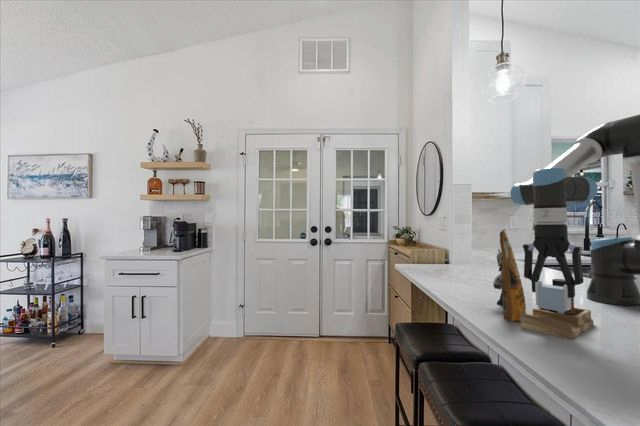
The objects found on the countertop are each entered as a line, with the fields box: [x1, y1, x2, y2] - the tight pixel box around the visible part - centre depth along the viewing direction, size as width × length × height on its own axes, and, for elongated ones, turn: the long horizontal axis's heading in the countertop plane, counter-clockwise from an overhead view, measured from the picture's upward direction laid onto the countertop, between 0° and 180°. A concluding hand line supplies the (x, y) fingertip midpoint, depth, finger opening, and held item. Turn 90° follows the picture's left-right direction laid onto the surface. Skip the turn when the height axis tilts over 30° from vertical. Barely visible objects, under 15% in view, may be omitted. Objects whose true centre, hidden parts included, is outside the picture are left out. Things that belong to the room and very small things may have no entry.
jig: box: [520, 306, 594, 340], centre depth 93 cm, size 18×12×4 cm, turn 126°
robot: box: [492, 249, 503, 307], centre depth 117 cm, size 20×5×20 cm, turn 137°
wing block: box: [537, 283, 567, 312], centre depth 89 cm, size 4×6×6 cm, turn 36°
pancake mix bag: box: [499, 228, 527, 323], centre depth 104 cm, size 7×19×28 cm, turn 141°
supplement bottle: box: [549, 278, 575, 316], centre depth 95 cm, size 6×6×11 cm
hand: (553, 306), depth 89 cm, fingers closed on wing block, 6 cm apart
